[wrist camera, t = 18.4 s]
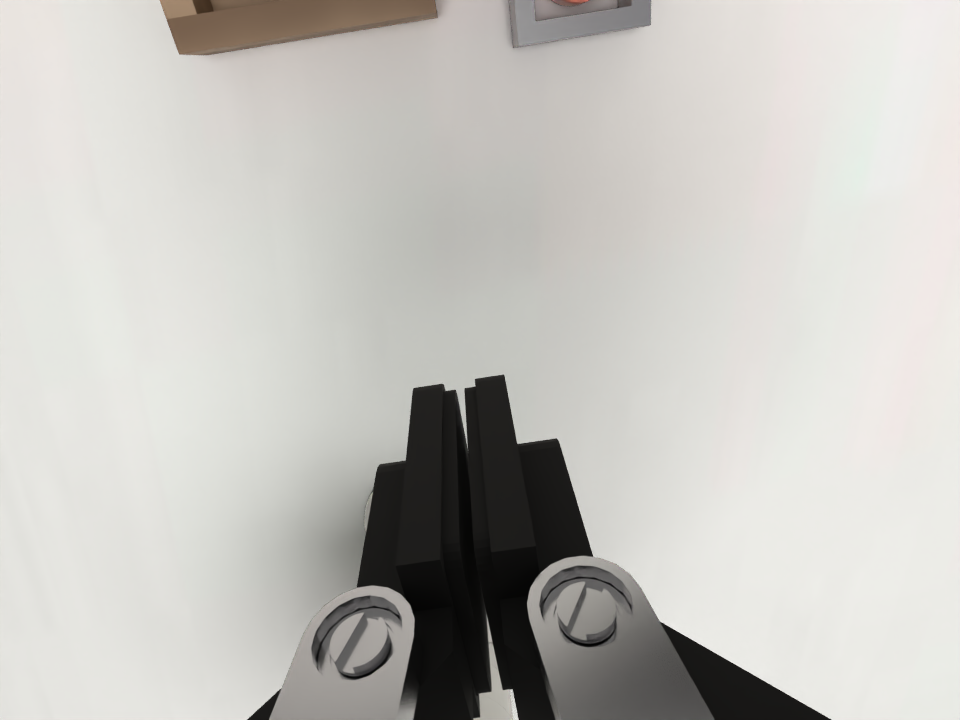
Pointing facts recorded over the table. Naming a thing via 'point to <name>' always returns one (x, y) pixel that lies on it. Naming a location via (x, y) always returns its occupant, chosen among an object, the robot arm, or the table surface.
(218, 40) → the tray
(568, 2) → the button
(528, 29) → the button housing
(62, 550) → the table surface
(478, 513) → the robot arm
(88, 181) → the table surface
